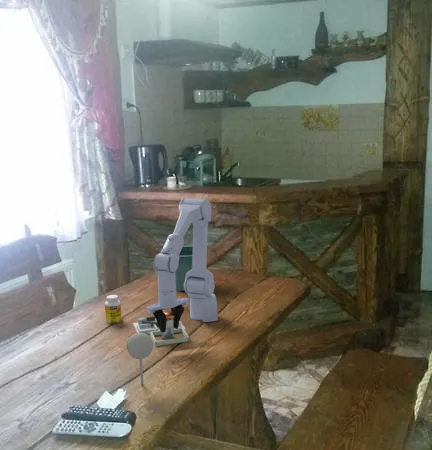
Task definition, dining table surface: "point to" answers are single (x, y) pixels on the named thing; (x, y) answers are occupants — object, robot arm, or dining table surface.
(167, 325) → the pin
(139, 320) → the pulley board
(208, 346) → the dining table surface
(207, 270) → the robot arm
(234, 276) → the dining table surface
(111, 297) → the supplement bottle
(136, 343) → the lollipop
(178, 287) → the flower pot
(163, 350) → the dining table surface
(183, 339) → the tray
